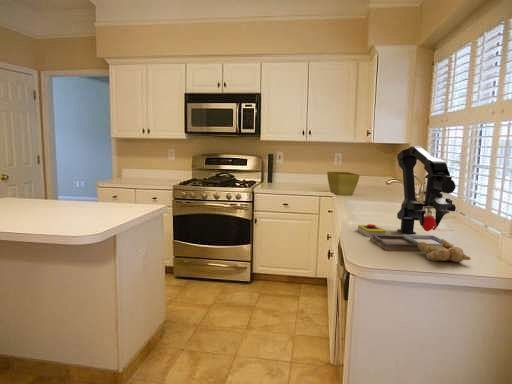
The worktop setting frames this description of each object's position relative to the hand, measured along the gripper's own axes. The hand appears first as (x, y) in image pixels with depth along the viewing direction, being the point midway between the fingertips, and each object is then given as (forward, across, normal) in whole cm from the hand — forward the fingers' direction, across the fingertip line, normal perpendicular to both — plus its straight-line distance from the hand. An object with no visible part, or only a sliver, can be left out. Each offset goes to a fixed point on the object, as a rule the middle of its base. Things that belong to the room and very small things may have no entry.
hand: (429, 226), depth 161 cm
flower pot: (+8, +8, +138) cm, 139 cm away
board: (+7, -17, -5) cm, 19 cm away
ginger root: (+8, -7, -23) cm, 25 cm away
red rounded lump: (+2, 0, 0) cm, 2 cm away
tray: (+7, 0, 0) cm, 7 cm away
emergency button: (+8, -19, +14) cm, 25 cm away
